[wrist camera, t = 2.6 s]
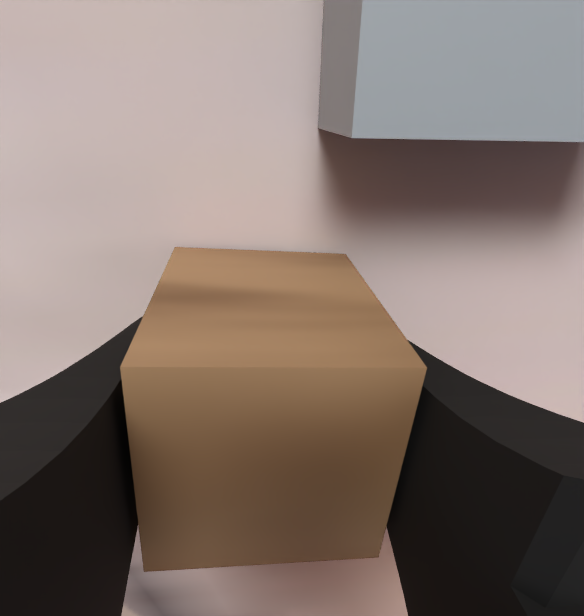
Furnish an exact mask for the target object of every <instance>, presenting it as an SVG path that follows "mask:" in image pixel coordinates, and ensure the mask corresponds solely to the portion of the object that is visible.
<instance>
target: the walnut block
mask: <svg viewBox="0 0 584 616" xmlns="http://www.w3.org/2000/svg"><path fill="white" fill-rule="evenodd" d="M120 370H121V379H122V388H123V396H124V405H125V413H126V422H127V431H128V439H129V448H130V456H131V465H132V473H133V482H134V491H135V499H136V508H137V516H138V525H139V534H140V542H141V551H142V559H143V568H144V572H148V571H164V570H180V569H197V568H213V567H229V566H245V565H262V564H278V563H294V562H310V561H327V560H343V559H359V558H375V557H379V553H380V549H381V545H382V541H383V537H384V533H385V529H386V526H387V522H388V518H389V514H390V510H391V506H392V502H393V498H394V494H395V491H396V487H397V483H398V479H399V475H400V471H401V467H402V463H403V460H404V456H405V452H406V448H407V444H408V440H409V436H410V432H411V428H412V425H413V421H414V417H415V413H416V409H417V405H418V401H419V397H420V393H421V390H422V386H423V382H424V378H425V374H426V370H427V367H426V365H425V364H424V363H423V361H422V360H421V359H420V357H419V356H418V354H417V353H416V352H415V350H414V349H413V347H412V346H411V345H410V343H409V342H408V340H407V339H406V338H405V336H404V335H403V333H402V332H401V331H400V329H399V328H398V326H397V325H396V324H395V322H394V321H393V320H392V318H391V317H390V315H389V314H388V313H387V311H386V310H385V308H384V307H383V306H382V304H381V303H380V301H379V300H378V299H377V297H376V296H375V294H374V293H373V292H372V290H371V289H370V287H369V286H368V285H367V283H366V282H365V280H364V279H363V278H362V276H361V275H360V274H359V272H358V271H357V269H356V268H355V267H354V265H353V264H352V262H351V261H350V260H349V258H348V257H347V255H346V254H332V253H307V252H282V251H258V250H233V249H208V248H183V247H175V248H174V250H173V253H172V255H171V257H170V259H169V261H168V264H167V266H166V268H165V270H164V272H163V274H162V277H161V279H160V281H159V283H158V285H157V288H156V290H155V292H154V294H153V296H152V298H151V301H150V303H149V305H148V307H147V309H146V312H145V314H144V316H143V318H142V320H141V322H140V325H139V327H138V329H137V331H136V333H135V336H134V338H133V340H132V342H131V344H130V346H129V349H128V351H127V353H126V355H125V357H124V360H123V362H122V364H121V366H120Z"/></svg>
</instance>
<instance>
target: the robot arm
mask: <svg viewBox="0 0 584 616" xmlns="http://www.w3.org/2000/svg"><path fill="white" fill-rule="evenodd" d="M142 318H143V317H141V318H139V319H138V320H137V321H135V322H134V323H132V324H131V325H130V326H128V327H127V328H126V329H124V330H123V331H122V332H120V333H119V334H117V335H116V336H115V337H113V338H112V339H110V340H109V341H108V342H106V343H105V344H103V345H102V346H101V347H99V348H98V349H96V350H95V351H93V352H92V353H90V354H89V355H87V356H86V357H84V358H82V359H81V360H79V361H78V362H76V363H75V364H73V365H71V366H70V367H68V368H67V369H65V370H64V371H62V372H60V373H58V374H57V375H55V376H53V377H51V378H50V379H48V380H46V381H44V382H42V383H40V384H38V385H36V386H34V387H33V388H31V389H29V390H27V391H25V392H23V393H21V394H19V395H17V396H15V397H12V398H10V399H8V400H6V401H4V402H1V403H0V616H121V613H122V608H123V602H124V597H125V591H126V585H127V580H128V574H129V569H130V563H131V558H132V553H133V548H134V543H135V537H136V532H137V527H138V516H137V508H136V499H135V491H134V482H133V473H132V465H131V456H130V448H129V439H128V431H127V422H126V413H125V405H124V396H123V388H122V379H121V370H120V366H121V364H122V362H123V360H124V357H125V355H126V353H127V351H128V349H129V346H130V344H131V342H132V340H133V338H134V336H135V333H136V331H137V329H138V327H139V325H140V322H141V320H142ZM408 342H409V343H410V345H411V346H412V347H413V349H414V350H415V352H416V353H417V354H418V356H419V357H420V359H421V360H422V361H423V363H424V364H425V365H426V367H427V370H426V374H425V378H424V382H423V386H422V390H421V393H420V397H419V401H418V405H417V409H416V413H415V417H414V421H413V425H412V428H411V432H410V436H409V440H408V444H407V448H406V452H405V456H404V460H403V463H402V467H401V471H400V475H399V479H398V483H397V487H396V491H395V494H394V498H393V502H392V506H391V510H390V514H389V518H388V522H387V530H388V534H389V537H390V541H391V545H392V549H393V553H394V557H395V561H396V565H397V569H398V573H399V577H400V581H401V585H402V590H403V594H404V598H405V603H406V607H407V612H408V616H584V423H583V422H580V421H577V420H574V419H571V418H568V417H565V416H562V415H559V414H556V413H554V412H551V411H548V410H546V409H543V408H540V407H538V406H535V405H532V404H530V403H527V402H525V401H522V400H520V399H517V398H515V397H513V396H510V395H508V394H506V393H503V392H501V391H499V390H497V389H495V388H493V387H490V386H488V385H486V384H484V383H482V382H480V381H478V380H476V379H474V378H472V377H470V376H468V375H466V374H464V373H462V372H460V371H459V370H457V369H455V368H453V367H451V366H450V365H448V364H446V363H444V362H443V361H441V360H439V359H437V358H436V357H434V356H432V355H431V354H429V353H428V352H426V351H424V350H423V349H421V348H420V347H418V346H416V345H415V344H413V343H412V342H410V341H408Z"/></svg>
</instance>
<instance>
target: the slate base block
mask: <svg viewBox="0 0 584 616" xmlns="http://www.w3.org/2000/svg"><path fill="white" fill-rule="evenodd" d="M318 128H319V129H322V130H326V131H329V132H333V133H336V134H339V135H343V136H346V137H350V138H374V139H433V140H491V141H549V142H584V0H324V7H323V28H322V50H321V72H320V94H319V116H318Z"/></svg>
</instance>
